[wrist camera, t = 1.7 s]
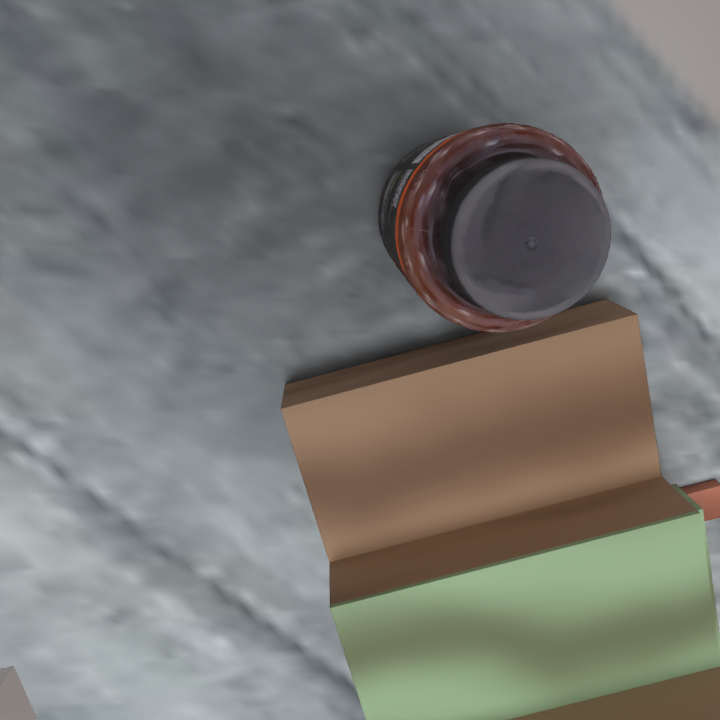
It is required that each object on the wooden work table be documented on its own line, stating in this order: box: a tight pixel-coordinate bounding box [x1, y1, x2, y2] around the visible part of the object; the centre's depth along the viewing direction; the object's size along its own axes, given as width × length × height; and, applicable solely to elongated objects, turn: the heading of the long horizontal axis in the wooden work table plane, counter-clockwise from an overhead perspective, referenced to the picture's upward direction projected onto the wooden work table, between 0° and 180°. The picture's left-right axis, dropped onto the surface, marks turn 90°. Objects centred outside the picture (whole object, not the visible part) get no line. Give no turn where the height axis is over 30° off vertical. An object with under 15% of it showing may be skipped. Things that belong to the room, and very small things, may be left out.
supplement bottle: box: [379, 123, 611, 333], centre depth 22 cm, size 6×6×11 cm
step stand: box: [281, 299, 720, 720], centre depth 27 cm, size 21×18×9 cm
